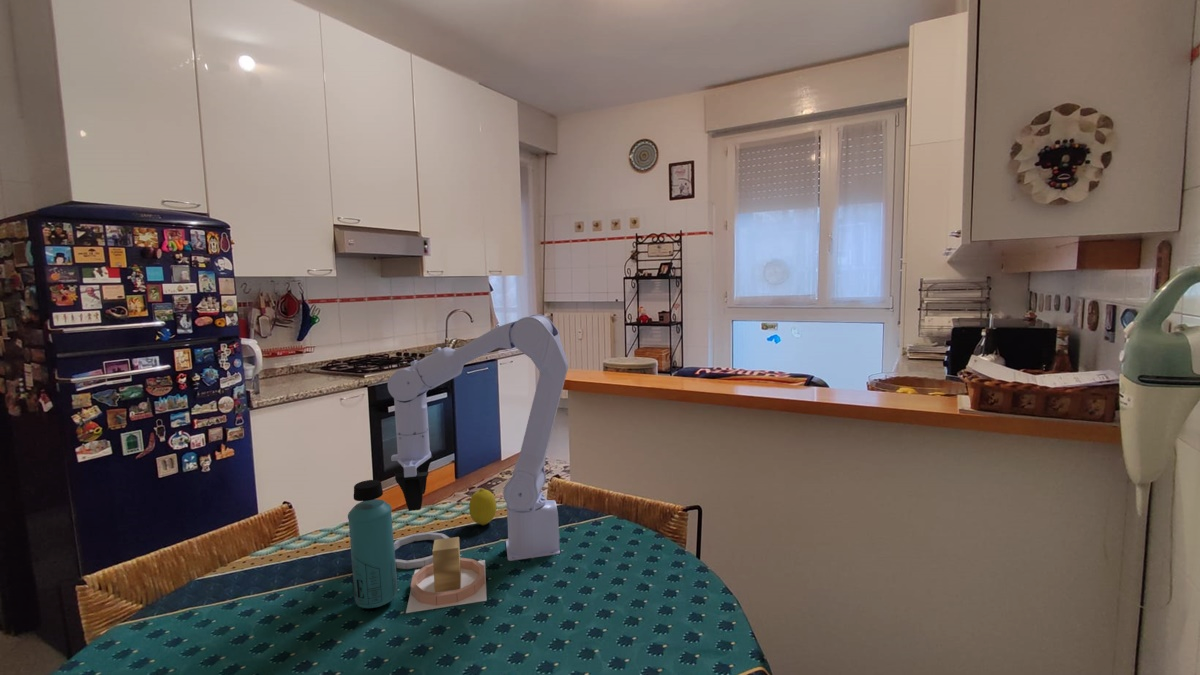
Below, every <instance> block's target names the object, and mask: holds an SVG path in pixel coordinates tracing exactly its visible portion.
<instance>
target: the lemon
mask: <svg viewBox="0 0 1200 675" xmlns="http://www.w3.org/2000/svg"><path fill="white" fill-rule="evenodd" d="M468 510H469V515H470V517H471V520H472V521H474V523H476V524H478V525H481V526H486V525H487V524H488V523H490V522H491V521H492V520H494V518H495V516H496V513H497V500H496V498H495V495H494V494H493V493H492V492H491V491H490V490H488V489H485V488H480V489H479V490H477V491H475V492H474V493H473V494H472V496H471V497H470V500H469V505H468Z"/></svg>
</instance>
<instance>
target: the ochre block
mask: <svg viewBox="0 0 1200 675" xmlns="http://www.w3.org/2000/svg"><path fill="white" fill-rule="evenodd" d="M460 546H461V545H460V537H459V536H455V537H449V538H445V539H437V540H433V546H432V555H433V568H434V584H435V593H436V592H443V591H449V590H456V589H460V588H461V562H460V558H461V547H460Z"/></svg>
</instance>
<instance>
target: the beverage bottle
mask: <svg viewBox="0 0 1200 675" xmlns="http://www.w3.org/2000/svg"><path fill="white" fill-rule="evenodd" d="M383 495H384V491H383V487H382V481H381V480H377V479H368V480H362V481H360V482H358V483H355V485H354V486H353V500H354V501H357V502H358V503H357V504H355V505H354V506H353V507H352V508H351V510H349V512H348V514H347V520H348V528H349V541H350V542H349V548H350V554H351V556H350V557H351V560H350V563H351V578H352V579H351V580H352V581H351V582H352V592H353V599H354V602H355V603H356V605H357V606H358V607H360V608H363V609H374V608H379V607H382V606H385V605H386V604H389V603H391V601H393V600H394V599H395V597H396V596H397V593H398V589H399V580H398V576H399V575H398V568H397V563H396V562H395V560H396V559H397V558H396V551H397V549H396V548H395V549H396V550H395V549H394V542H395V540H394V531H393V530H394V529H393V517H392V506H391V504H390V503H388V502H386V501H385V500H383V499H380V498H381V497H382V496H383Z"/></svg>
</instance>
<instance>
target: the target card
mask: <svg viewBox="0 0 1200 675" xmlns="http://www.w3.org/2000/svg"><path fill="white" fill-rule="evenodd" d="M477 561H478V562H479V563H481V564H482V565H483V566H484V577H485V584H484V585H483V586H482V587H481V588H480V589H479V591H478V592H477V593H476V594H474V595H472V596H470V597H468V598H466V599H464V600H461V601H459V602H456V603H450V604H443V605H431V604H425V603H420V602H418V601H417V600H416V599H415V598H414V597H413V596H412V595H411V590H410V593H409V597H408V602H407V606H406V610H405V614H409V613H417V612H422V611H428V610H434V609H440V608H441V609H442V608H447V607H448V608H449V607H454V606H459V605H467V604H474V603H480V602H486V601H487V599H488V598H487V580H486V579H487V578H486V577H487V576H486V572H487V571H486V560H485V559H483V560H477ZM420 569H421V568H418V569H417V568H416V569H414V573H413V575H414V574H416V573H417V572H418V571H419V570H420ZM478 576H479V575H478V574H477V573H475V572H474V571H473V570H469V569H462V568H461V588H463V587H465V586H467V585H469V584H471V583H472V582H473V581H474V580H475V579H476V578H477V577H478ZM418 587H419V588H420V589H422V590H423V591H427V592H433V593H435V584H434V574H432V575H429V576H427V577H426V578H425V579H424V580H423V581H421V582H420V583H419V584H418ZM456 590H458V589H456ZM456 590H449V591H443V592H450V591H456ZM443 592H436V593H443Z"/></svg>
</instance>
